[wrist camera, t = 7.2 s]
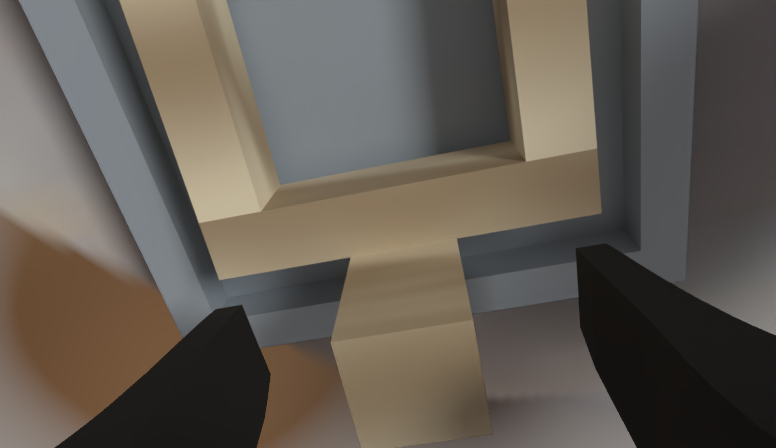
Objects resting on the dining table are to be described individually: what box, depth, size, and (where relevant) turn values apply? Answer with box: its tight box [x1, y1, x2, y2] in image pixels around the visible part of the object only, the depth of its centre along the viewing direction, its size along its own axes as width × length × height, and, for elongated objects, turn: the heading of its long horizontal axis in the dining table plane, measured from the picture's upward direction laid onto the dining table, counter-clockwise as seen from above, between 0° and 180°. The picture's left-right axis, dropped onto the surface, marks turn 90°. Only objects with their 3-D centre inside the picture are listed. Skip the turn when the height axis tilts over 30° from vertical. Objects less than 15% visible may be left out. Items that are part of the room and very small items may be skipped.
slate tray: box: [19, 0, 699, 348], centre depth 13 cm, size 14×14×2 cm
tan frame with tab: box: [119, 0, 602, 448], centre depth 11 cm, size 12×9×6 cm
